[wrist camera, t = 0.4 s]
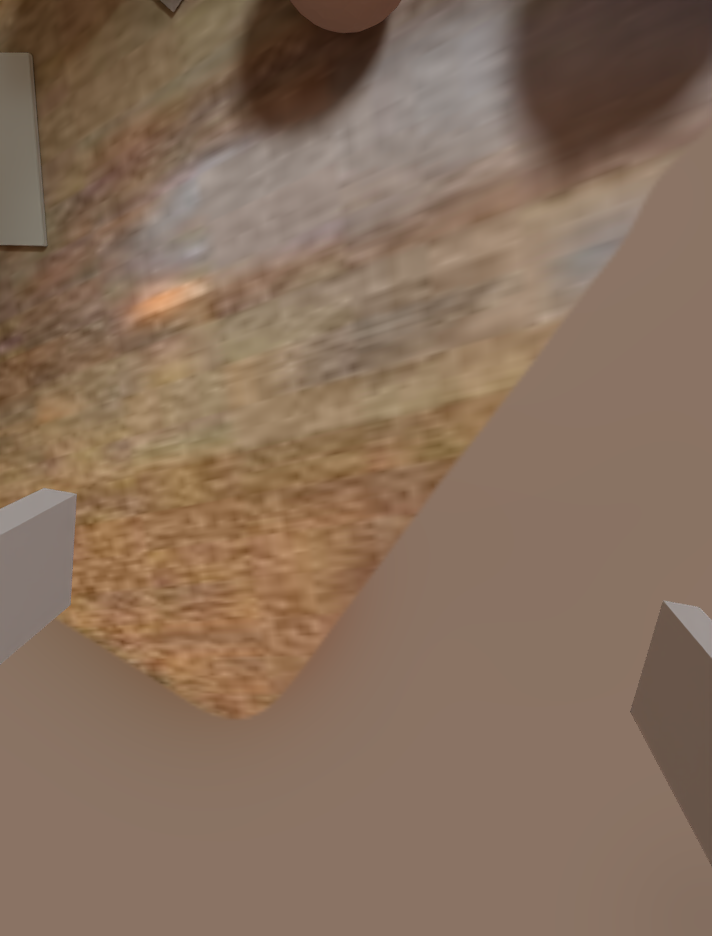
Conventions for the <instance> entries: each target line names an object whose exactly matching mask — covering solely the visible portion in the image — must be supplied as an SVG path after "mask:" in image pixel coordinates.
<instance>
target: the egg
mask: <svg viewBox="0 0 712 936" xmlns="http://www.w3.org/2000/svg"><path fill="white" fill-rule="evenodd" d="M290 1H291V3H292V4H293V5H294V6H295V7H296V9H297V10H298V11H299V12H300V14H302V15H303V16H304V17H306V18H307V19H308V20H310V21H311V22H312V23H314V24H315V25H317V26H319V27H321V28H323V29H325V30H329V31H334V32H338V33H352V32H360V31H362V30H365V29H367V28H370V27H372V26H375V25H376V24H378V23H380V22H382V21H383V20H384V19H385V18H386V17H387V16H388V15H389V14H390V13H391V12H392V11H393V10H395V9H396V8H397V6H398V5H399V3H400V1H401V0H290Z"/></svg>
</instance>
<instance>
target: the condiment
mask: <svg viewBox="0 0 712 936" xmlns="http://www.w3.org/2000/svg"><path fill="white" fill-rule="evenodd" d="M160 1H161V2H162V3H164V4H165V5H166V6H167V7H168V8H169V9H170V10H171V11H172V12H174V11H175V9H176V8H177V7H178V5H179V4H180V2H181V0H160Z"/></svg>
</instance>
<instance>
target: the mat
mask: <svg viewBox="0 0 712 936" xmlns="http://www.w3.org/2000/svg"><path fill="white" fill-rule="evenodd" d="M0 245H13V246H47V235H46V223H45V210H44V198H43V185H42V172H41V160H40V147H39V134H38V122H37V109H36V96H35V84H34V71H33V58H32V55H31V54H30V53H0Z"/></svg>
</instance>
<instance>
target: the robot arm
mask: <svg viewBox="0 0 712 936" xmlns="http://www.w3.org/2000/svg"><path fill="white" fill-rule="evenodd" d="M76 497H77V494H74V493H69V492H63V491H58V490H52V489H47V488H43V489H41V490H39V491H37V492H35V493H32V494H30V495H28V496H26V497H24V498H22V499H20V500H18V501H16V502H14V503H12V504H9V505H7V506H5V507H3V508H1V509H0V664H1V663H2V662H4V661H5V660H6V659H7V658H8V657H10V656H11V655H12V654H13V653H14V652H15V651H17V650H18V649H19V648H20V647H21V646H22V645H24V644H25V643H26V642H27V641H28V640H30V639H31V638H32V637H33V636H34V635H36V633H38V632H39V631H40V630H41V629H43V628H44V627H45V626H46V625H47V624H48V623H50V622H51V621H52V620H53V619H54V618H56V617H57V616H58V615H59V614H60V613H61V612H63V611H64V610H65V609H66V608H67V607H69V606H70V605H71V587H72V569H73V551H74V533H75V515H76ZM630 712H631V714H632V716H633V718H634V720H635V722H636V723H637V725H638V727H639V729H640V731H641V733H642V735H643V737H644V738H645V741H646V742H647V744H648V746H649V748H650V750H651V752H652V754H653V756H654V758H655V759H656V761H657V763H658V765H659V767H660V769H661V771H662V773H663V775H664V776H665V778H666V780H667V782H668V784H669V786H670V788H671V790H672V792H673V794H674V796H675V797H676V799H677V801H678V803H679V805H680V807H681V809H682V811H683V812H684V814H685V816H686V818H687V820H688V822H689V824H690V826H691V828H692V830H693V832H694V834H695V835H696V837H697V839H698V841H699V843H700V845H701V847H702V849H703V851H704V852H705V854H706V856H707V858H708V860H709V862H710V864H711V866H712V621H711V619H710V618H709V617H708V616H707V615H706V614H705V613H704V612H703V611H702V610H701V609H700V608H699V607H696V606H690V605H685V604H679V603H674V602H668V601H663V603H662V606H661V610H660V613H659V616H658V620H657V623H656V626H655V630H654V633H653V637H652V640H651V643H650V647H649V650H648V654H647V657H646V660H645V664H644V667H643V670H642V674H641V677H640V680H639V684H638V688H637V691H636V694H635V697H634V701H633V704H632V708H631V711H630Z"/></svg>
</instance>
